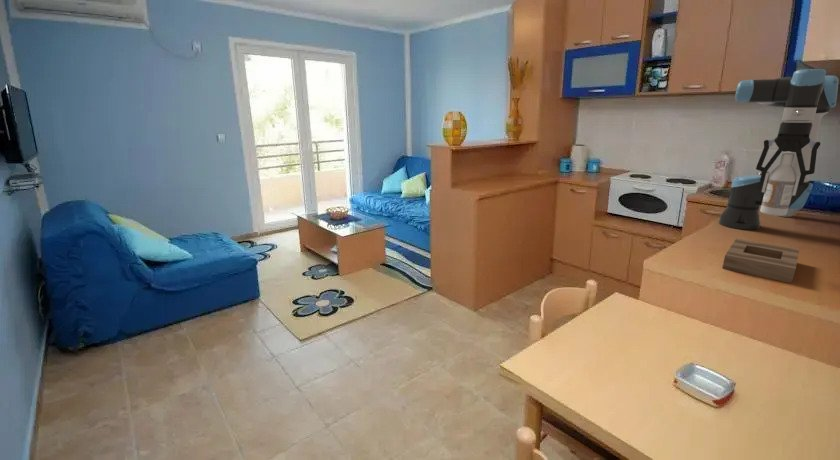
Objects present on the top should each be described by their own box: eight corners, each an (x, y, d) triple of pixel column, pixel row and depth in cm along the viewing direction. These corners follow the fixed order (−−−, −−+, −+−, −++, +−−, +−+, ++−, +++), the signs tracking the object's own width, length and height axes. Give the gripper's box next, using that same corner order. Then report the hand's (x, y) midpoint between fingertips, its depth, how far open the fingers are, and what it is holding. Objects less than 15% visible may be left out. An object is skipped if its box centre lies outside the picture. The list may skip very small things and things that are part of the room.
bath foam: (755, 210, 140) (769, 152, 134) (779, 211, 138) (794, 152, 132) (766, 215, 134) (781, 154, 128) (791, 216, 132) (808, 155, 126)
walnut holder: (733, 250, 156) (736, 238, 154) (795, 262, 144) (799, 249, 142) (722, 268, 139) (725, 254, 138) (791, 283, 127) (795, 268, 126)
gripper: (755, 121, 131) (739, 190, 138) (841, 122, 118) (819, 199, 125) (757, 120, 136) (742, 187, 143) (841, 122, 123) (819, 195, 130)
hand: (778, 193), depth 134 cm, fingers closed on bath foam, 7 cm apart
